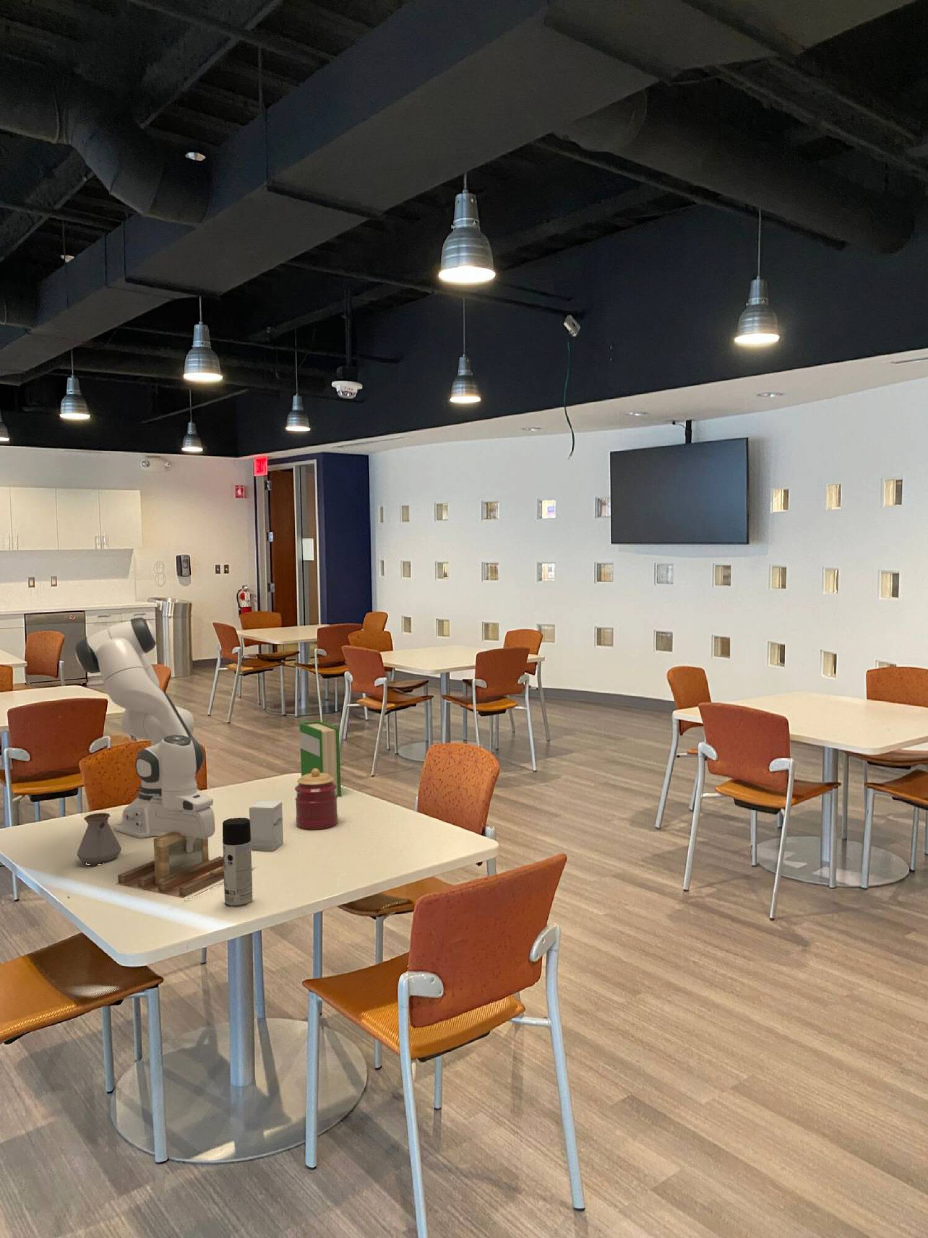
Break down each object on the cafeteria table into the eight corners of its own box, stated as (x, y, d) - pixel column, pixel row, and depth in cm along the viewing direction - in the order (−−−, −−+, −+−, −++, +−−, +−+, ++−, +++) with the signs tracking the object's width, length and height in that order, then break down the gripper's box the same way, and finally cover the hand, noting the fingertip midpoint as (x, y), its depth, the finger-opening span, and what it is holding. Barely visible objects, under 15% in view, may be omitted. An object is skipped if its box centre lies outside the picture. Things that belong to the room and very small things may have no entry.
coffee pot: (75, 859, 256) (73, 806, 255) (119, 852, 262) (116, 800, 260) (82, 882, 237) (79, 826, 236) (128, 874, 243) (126, 819, 242)
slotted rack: (115, 887, 233) (114, 874, 233) (184, 859, 254) (183, 846, 254) (182, 902, 222) (182, 887, 222) (248, 870, 244) (247, 857, 243)
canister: (330, 831, 277) (329, 774, 276) (290, 830, 279) (288, 773, 278) (343, 818, 290) (341, 764, 289) (304, 817, 292) (302, 763, 291)
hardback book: (341, 796, 317) (339, 728, 315) (321, 800, 313) (319, 730, 311) (321, 786, 332) (318, 721, 330) (301, 789, 328) (299, 723, 326)
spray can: (227, 897, 225) (224, 817, 224) (255, 895, 226) (252, 816, 224) (222, 907, 218) (219, 825, 217) (251, 906, 219) (248, 824, 218)
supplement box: (274, 851, 259) (272, 808, 258) (249, 850, 261) (248, 807, 260) (284, 843, 266) (282, 801, 266) (260, 842, 268) (258, 800, 267)
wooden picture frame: (155, 884, 232) (153, 838, 231) (200, 865, 246) (198, 821, 245) (164, 886, 231) (162, 839, 230) (208, 866, 245) (207, 822, 244)
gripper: (141, 797, 239) (143, 849, 240) (200, 805, 229) (202, 859, 230) (159, 791, 244) (161, 842, 245) (217, 799, 235) (220, 852, 236)
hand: (182, 850), depth 238 cm, fingers open, 3 cm apart
